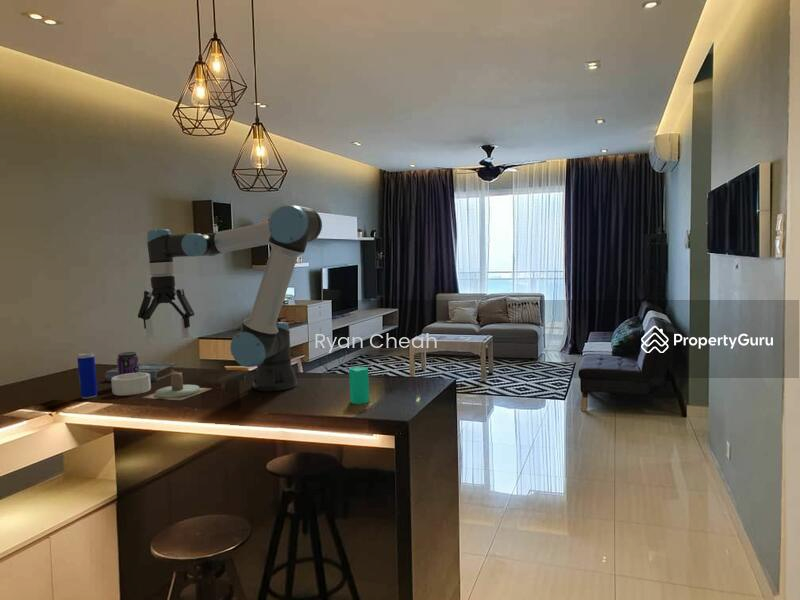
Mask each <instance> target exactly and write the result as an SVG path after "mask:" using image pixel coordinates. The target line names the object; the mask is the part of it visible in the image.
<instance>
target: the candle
mask: <svg viewBox="0 0 800 600" xmlns="http://www.w3.org/2000/svg"><path fill="white" fill-rule="evenodd" d="M369 374H370V373H369V367H368V366H360V365H359V363H358V364H357V366H350V367H349V368H348V376H349V394H350V395H349V398H350V399H349V400H350V403H351V404H354V405H355V404H356V405H361V404H363V405H364V404H367V403H369V402H370V382H369V381H370V380H369V379H370V378H369V377H370V376H369Z"/></svg>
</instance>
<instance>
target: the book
mask: <svg viewBox="0 0 800 600" xmlns="http://www.w3.org/2000/svg"><path fill="white" fill-rule="evenodd" d="M138 365H139V373H140V372H141V373H149V374H150V380H151V382H159V381H160V379H161V380H163V379H165V378H167V376H168V377H169V376H170V377H171V374H172V373H177V372H178V370H174V369H173V367H174V366H177V365H178V363H174V362H171V363H157V362H149V363H138ZM104 373H105V374H104V378H105V381H106V382H111V378H112V377H114V376H118V367H116V368H112V369H111V370H107V371H105V372H104Z"/></svg>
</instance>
